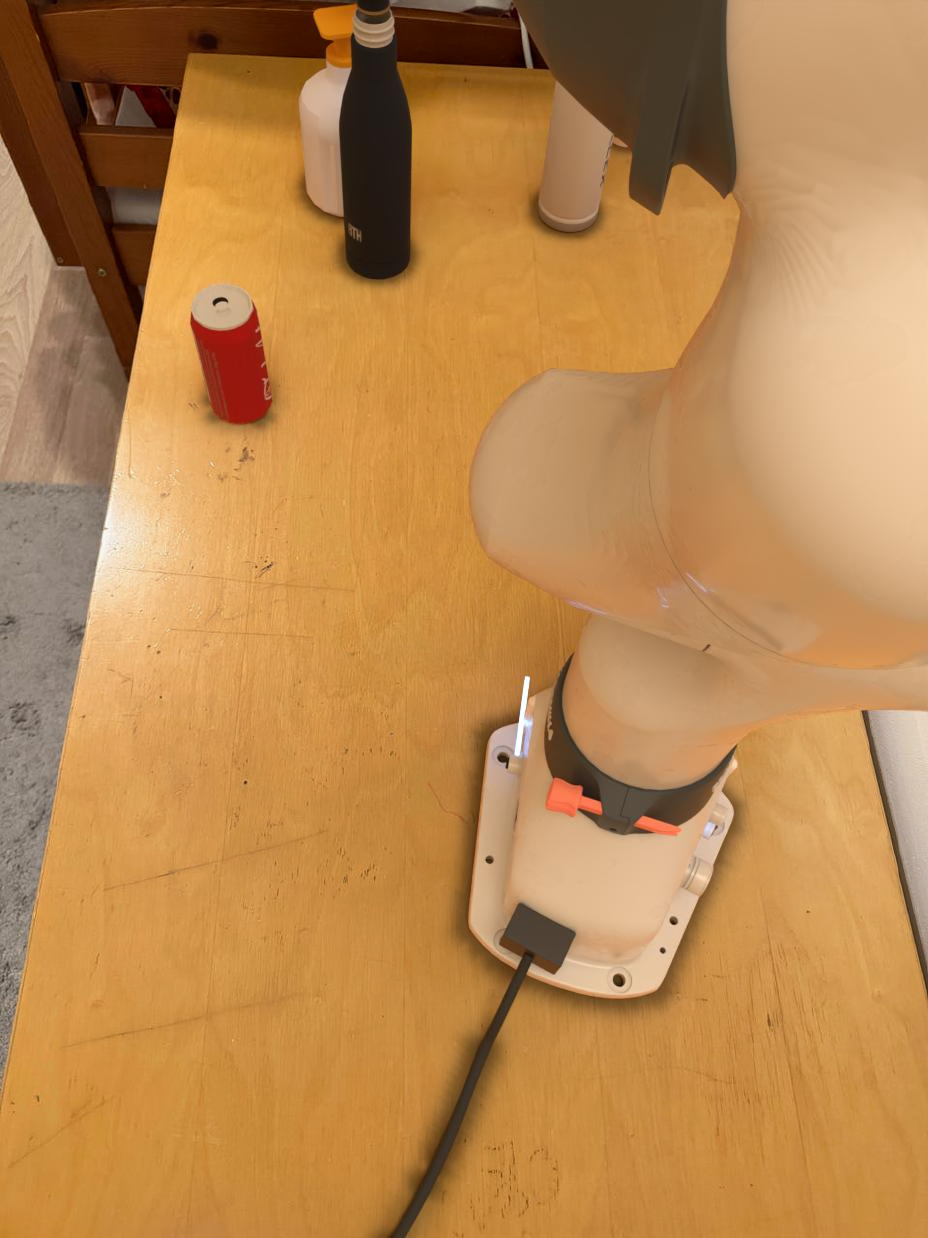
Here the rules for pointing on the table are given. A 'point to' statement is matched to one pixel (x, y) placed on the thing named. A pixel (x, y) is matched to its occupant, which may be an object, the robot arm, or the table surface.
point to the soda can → (231, 352)
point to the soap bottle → (326, 110)
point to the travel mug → (573, 165)
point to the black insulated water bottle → (375, 148)
